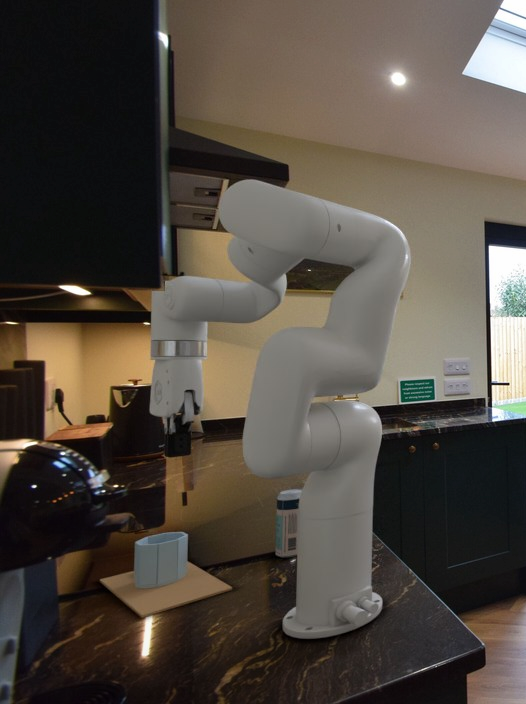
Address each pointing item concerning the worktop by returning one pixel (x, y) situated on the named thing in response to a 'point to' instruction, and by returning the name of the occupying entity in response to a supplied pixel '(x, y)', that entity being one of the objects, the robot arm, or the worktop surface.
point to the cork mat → (165, 591)
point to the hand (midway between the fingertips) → (177, 455)
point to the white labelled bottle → (287, 523)
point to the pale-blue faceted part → (160, 559)
